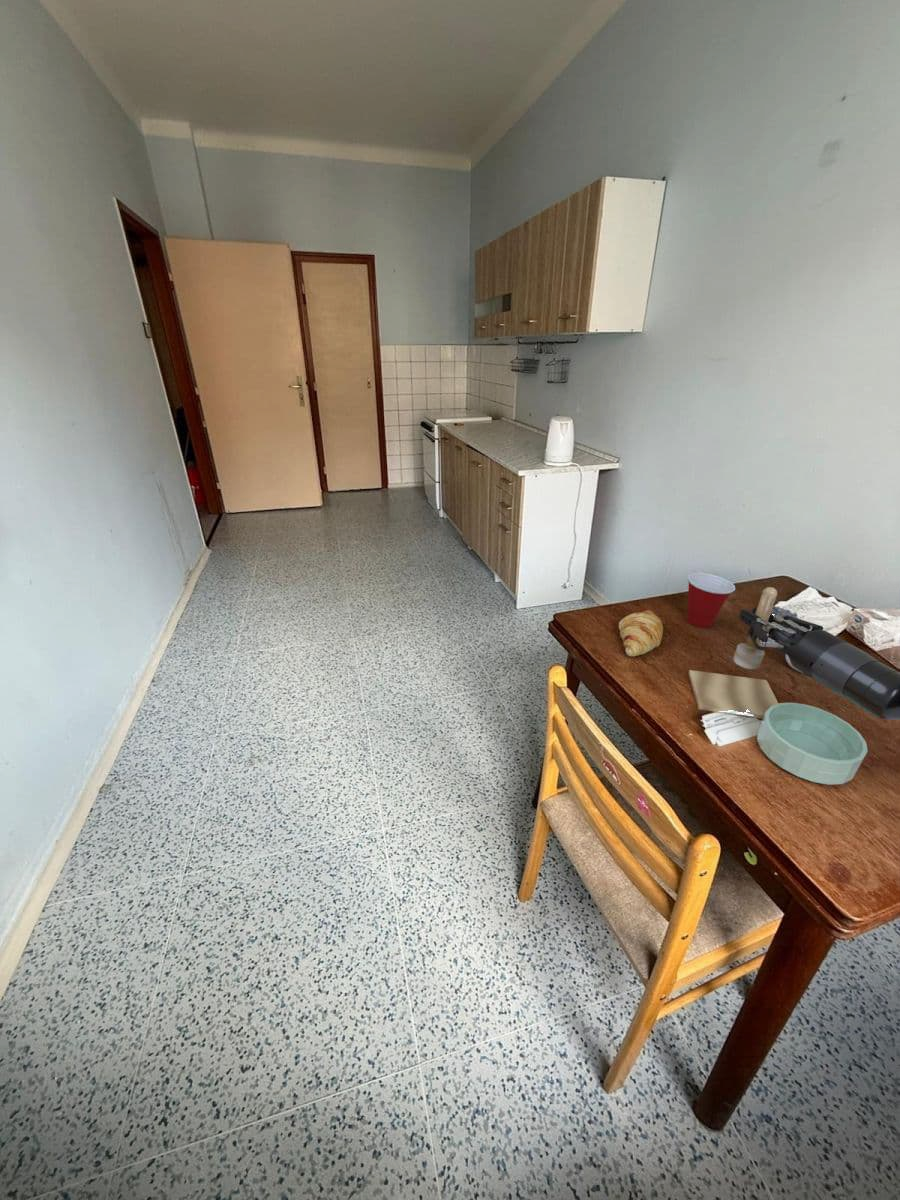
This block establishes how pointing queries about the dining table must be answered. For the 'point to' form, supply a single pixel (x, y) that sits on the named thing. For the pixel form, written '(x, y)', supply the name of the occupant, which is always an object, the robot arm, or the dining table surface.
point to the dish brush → (747, 651)
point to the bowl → (811, 743)
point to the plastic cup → (706, 598)
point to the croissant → (640, 632)
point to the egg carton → (782, 612)
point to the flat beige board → (731, 693)
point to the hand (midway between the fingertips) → (747, 612)
